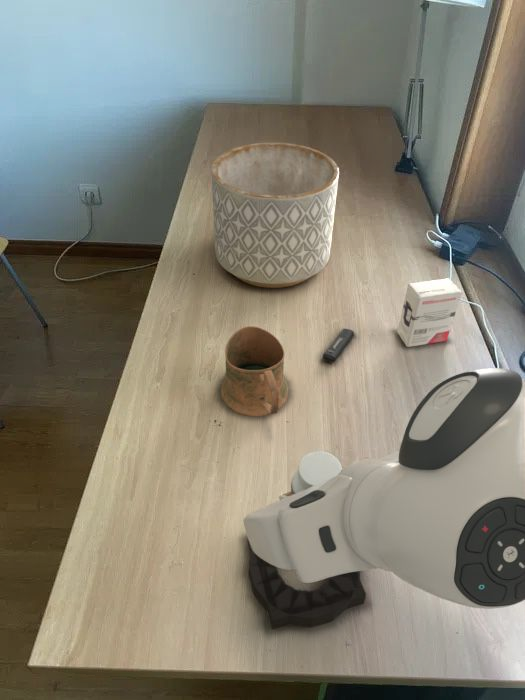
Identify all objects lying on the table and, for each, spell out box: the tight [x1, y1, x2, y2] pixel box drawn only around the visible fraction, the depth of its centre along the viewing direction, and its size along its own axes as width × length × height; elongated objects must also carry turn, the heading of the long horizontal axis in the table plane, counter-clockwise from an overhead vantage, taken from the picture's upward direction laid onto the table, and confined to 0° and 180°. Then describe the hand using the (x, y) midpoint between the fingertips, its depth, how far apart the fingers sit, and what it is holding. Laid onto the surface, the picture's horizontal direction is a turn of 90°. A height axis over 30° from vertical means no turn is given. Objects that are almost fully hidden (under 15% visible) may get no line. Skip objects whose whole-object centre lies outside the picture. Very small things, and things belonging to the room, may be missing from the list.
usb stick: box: [322, 328, 355, 364], centre depth 106 cm, size 10×3×2 cm, turn 149°
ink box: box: [396, 277, 463, 348], centre depth 105 cm, size 8×5×12 cm, turn 104°
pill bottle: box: [290, 450, 343, 493], centre depth 63 cm, size 6×6×10 cm
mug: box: [220, 325, 289, 417], centre depth 91 cm, size 12×18×12 cm, turn 15°
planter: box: [211, 142, 340, 289], centre depth 120 cm, size 26×26×22 cm
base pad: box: [247, 539, 367, 630], centre depth 73 cm, size 14×14×2 cm
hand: (313, 489), depth 63 cm, fingers closed on pill bottle, 6 cm apart
